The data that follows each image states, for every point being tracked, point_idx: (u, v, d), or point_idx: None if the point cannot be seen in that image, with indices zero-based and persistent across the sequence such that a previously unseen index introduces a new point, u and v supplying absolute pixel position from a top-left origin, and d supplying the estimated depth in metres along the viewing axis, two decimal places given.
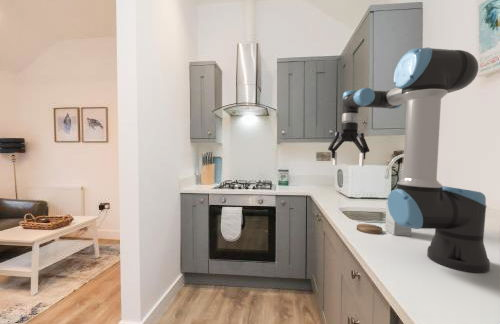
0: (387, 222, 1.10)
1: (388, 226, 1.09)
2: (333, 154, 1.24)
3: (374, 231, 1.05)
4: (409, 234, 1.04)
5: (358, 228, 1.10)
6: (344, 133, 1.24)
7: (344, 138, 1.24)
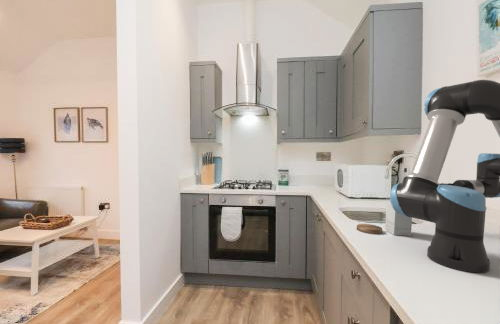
0: (387, 222, 1.10)
1: (388, 226, 1.09)
2: None
3: (374, 231, 1.05)
4: (409, 234, 1.04)
5: (358, 228, 1.10)
6: None
7: (443, 183, 1.13)
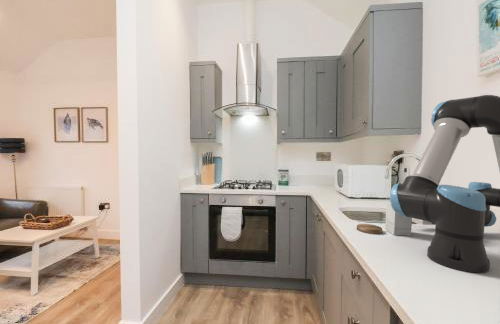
0: (387, 222, 1.10)
1: (388, 226, 1.09)
2: None
3: (374, 231, 1.05)
4: (409, 234, 1.04)
5: (358, 228, 1.10)
6: None
7: None
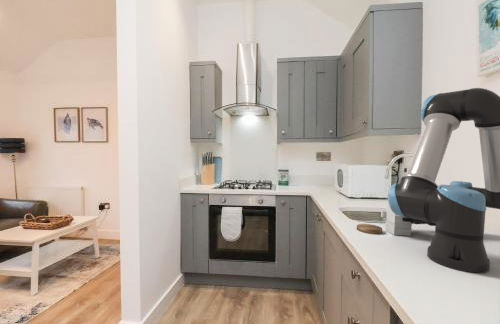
0: (387, 222, 1.10)
1: (388, 226, 1.09)
2: None
3: (374, 231, 1.05)
4: (409, 234, 1.05)
5: (358, 228, 1.10)
6: None
7: None
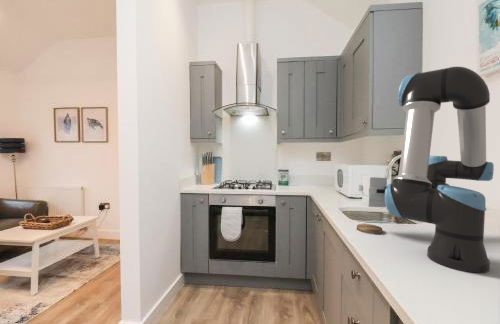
0: (363, 195, 1.12)
1: (364, 199, 1.11)
2: None
3: (374, 231, 1.05)
4: (384, 205, 1.06)
5: (358, 228, 1.10)
6: None
7: None
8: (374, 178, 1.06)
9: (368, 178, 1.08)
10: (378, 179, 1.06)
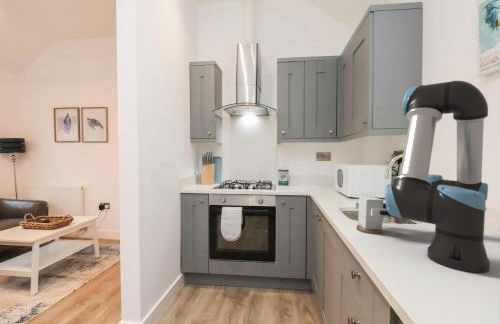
0: (360, 216, 1.12)
1: (360, 220, 1.11)
2: None
3: (374, 231, 1.05)
4: (380, 228, 1.06)
5: (358, 228, 1.10)
6: None
7: None
8: (371, 200, 1.06)
9: (365, 200, 1.08)
10: (374, 201, 1.06)
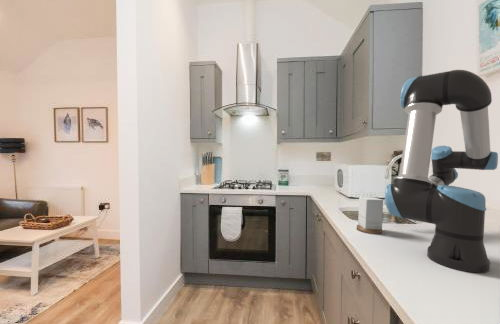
0: (360, 216, 1.12)
1: (360, 220, 1.11)
2: None
3: (374, 231, 1.05)
4: (380, 228, 1.06)
5: (358, 228, 1.10)
6: None
7: None
8: (371, 200, 1.06)
9: (365, 200, 1.08)
10: (374, 201, 1.06)
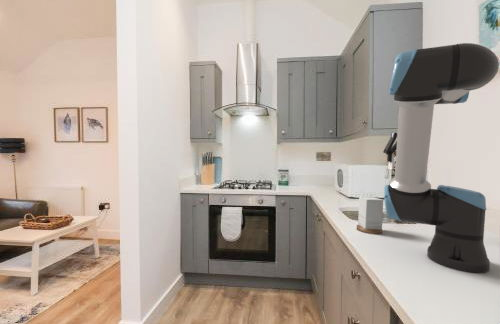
0: (360, 216, 1.12)
1: (360, 220, 1.11)
2: (390, 157, 1.13)
3: (374, 231, 1.05)
4: (380, 228, 1.06)
5: (358, 228, 1.10)
6: None
7: None
8: (371, 200, 1.06)
9: (365, 200, 1.08)
10: (374, 201, 1.06)
